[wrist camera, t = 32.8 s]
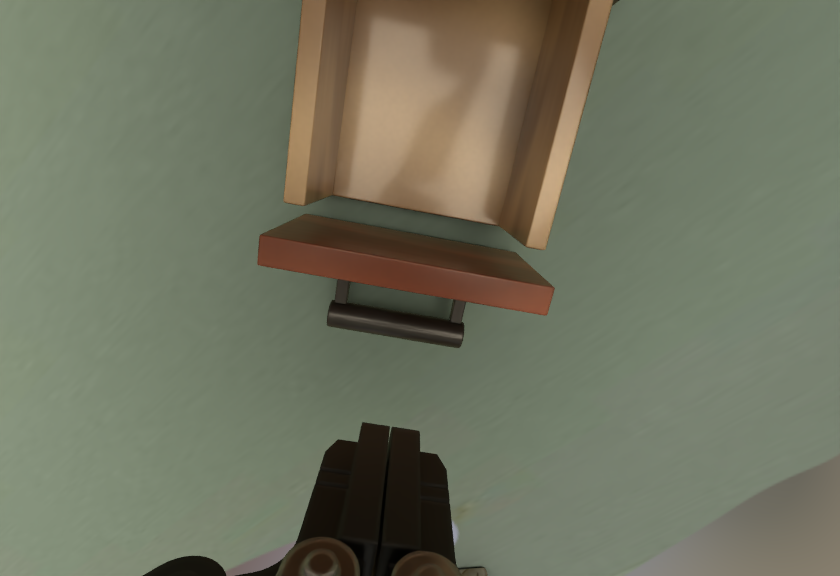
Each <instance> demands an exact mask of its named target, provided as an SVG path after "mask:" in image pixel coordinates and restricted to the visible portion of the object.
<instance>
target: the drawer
mask: <svg viewBox="0 0 840 576" xmlns="http://www.w3.org/2000/svg"><path fill="white" fill-rule="evenodd" d="M612 4H613V0H302V9H301V20H300V31H299V41H298V52H297V62H296V73H295V84H294V94H293V105H292V116H291V126H290V137H289V148H288V158H287V169H286V180H285V190H284V202H285V203H290V204H296V205H301V206H305V205H308V204H310V203H313V202H316V201H318V200H321V199H323V198H326V197H329V196H331V195H334V196H339V197H345V198H350V199H356V200H361V201H366V202H372V203H377V204H382V205H388V206H393V207H398V208H404V209H409V210H414V211H420V212H425V213H430V214H436V215H441V216H446V217H452V218H457V219H462V220H468V221H473V222H478V223H484V224H489V225H494V226H499V227H501V228H502V229H503V230H505V231H506V232H507V233H509V234H510V235H511V236H512V237H514V238H515V239H516V240H518V241H519V242H520V243H522V244H523V245H524V246H526V247H528V248H534V249H539V250H545V249H546V245H547V242H548V238H549V234H550V231H551V227H552V223H553V220H554V216H555V212H556V209H557V205H558V201H559V198H560V194H561V190H562V187H563V183H564V179H565V176H566V172H567V168H568V165H569V161H570V157H571V154H572V150H573V146H574V143H575V139H576V135H577V132H578V128H579V124H580V121H581V117H582V113H583V110H584V106H585V103H586V99H587V95H588V92H589V88H590V84H591V81H592V77H593V73H594V70H595V66H596V62H597V59H598V55H599V51H600V48H601V44H602V40H603V37H604V33H605V29H606V26H607V22H608V18H609V15H610V11H611V7H612ZM257 264H258V265H260V266H266V267H271V268H277V269H283V270H288V271H294V272H300V273H306V274H311V275H317V276H323V277H328V278H334V279H338V280H337V287H336V295H335V300H332V301H331V303H330V306H329V310H328V316H327V326H329V327H335V328H341V329H347V330H353V331H359V332H365V333H371V334H377V335H383V336H389V337H395V338H401V339H407V340H412V341H418V342H424V343H430V344H436V345H442V346H448V347H454V348H460V346H461V344H462V341H463V336H464V323H463V322H462V317H463V313H464V309H465V304H466V302H471V303H477V304H482V305H488V306H494V307H499V308H505V309H511V310H517V311H522V312H528V313H534V314H539V315H547V314H548V310H549V307H550V303H551V300H552V296H553V293H554V289H555V288H554V287H553V286H552V285H551V284H550V283H549V282H548V281H547V280H545V279H544V278H543V277H542V276H541V275H540V274H539V273H538V272H537V271H535V270H534V269H533V268H532V267H531V266H530V265H529V264H528V263H527V262H526V261H524V260H523V259H522V258H521V257H520V256H519V255H518V254H517V253H515V252H511V251H506V250H500V249H495V248H489V247H484V246H478V245H473V244H468V243H462V242H457V241H451V240H446V239H440V238H435V237H429V236H424V235H419V234H413V233H408V232H402V231H397V230H391V229H386V228H380V227H375V226H370V225H364V224H359V223H353V222H348V221H342V220H337V219H332V218H326V217H321V216H315V215H310V214H304V215H302V216H300V217H298V218H296V219H293V220H291V221H289V222H287V223H285V224H282V225H280V226H278V227H276V228H274V229H272V230H269V231H267V232H265V233H263V234H261V235H260V237H259V249H258V262H257ZM350 281H351V282H357V283H363V284H368V285H374V286H380V287H385V288H391V289H397V290H402V291H408V292H414V293H420V294H425V295H431V296H437V297H442V298H448V299H453V303H452V308H451V312H450V317H449V318H450V320H448V319H442V318H437V317H431V316H425V315H419V314H413V313H407V312H402V311H396V310H390V309H384V308H378V307H373V306H367V305H361V304H355V303H349V302H347V301H348V295H349V288H350Z"/></svg>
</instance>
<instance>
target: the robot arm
mask: <svg viewBox="0 0 840 576" xmlns="http://www.w3.org/2000/svg"><path fill="white" fill-rule="evenodd" d="M389 430H390V426H384V425H377V424H371V423H365V422H362V426H361V431H360V436H359V440H358V442H352V441H345V440H339V439H338V440H337V441H336V442H335V443H334V444H333V445H332V446H331V447H330V448H329V449H328V450H327V451H325V454H324V457H323V461H322V464H321V467H320V471H319V473H318V476H317V480H316V484H315V486H314V489H313V492H312V495H311V498H310V502H309V505H308V508H307V511H306V514H305V517H304V521H303V524H302V527H301V530H300V533H299V536H298V539H297V541H296V544H295V545H294V547H293V548H292V549H291V550H290V551H289V552H288V553H287V554H286V555H285V557H284V558H283V559H282V560H280V561H279V562H278V563H276V564H274V565H273V566H271V567H269V568H266V569H264V570H261V571H257V572H253V573H248V574H242V575H236V576H463V575H462V574H461V572H460V571H459V569H458V568H457V565H456V560H455V552H454V541H453V531H452V521H451V511H450V504H449V491H448V481H447V470H446V468H445V467H444V465H443V463H442V462H441V460H440V458H439V457H438V455H437V454H431V453H425V452H420V432H419V431H417V430H410V429H404V428H397V427H392V428H391V433H390V438H389ZM388 440H389V443H388ZM143 576H226V573H225V571H224V569H223V568H222V567H221V566H220V565H219V564H218V563H217V562H216V561H214V560H212V559H210V558H207V557H202V556H186V557H181V558H177V559H174V560H171V561H168V562H166V563H164V564H162V565H160V566H158V567H157V568H155V569H153V570H152V571H150V572H148V573H146V574H145V575H143Z"/></svg>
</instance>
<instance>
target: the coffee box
mask: <svg viewBox="0 0 840 576" xmlns="http://www.w3.org/2000/svg"><path fill="white" fill-rule="evenodd" d="M459 571H460V572H461V574H462V575H463V576H487V572H486V569H485V568H471V569H459Z"/></svg>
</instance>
